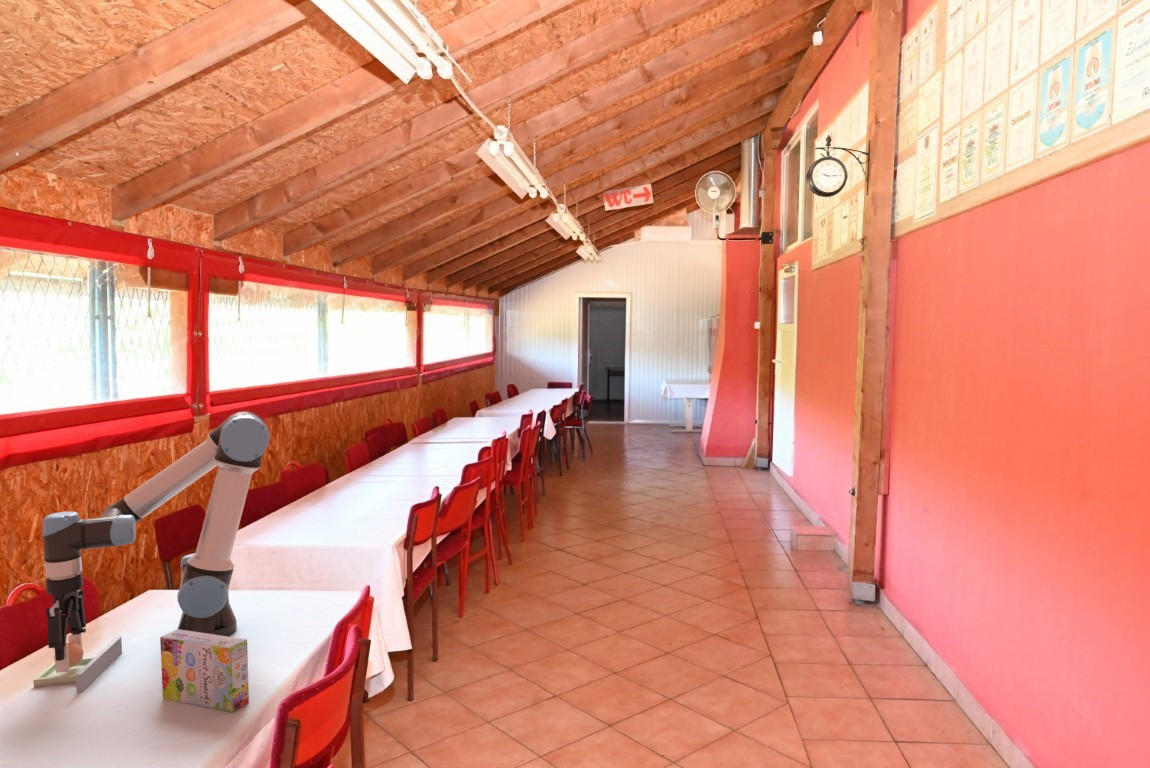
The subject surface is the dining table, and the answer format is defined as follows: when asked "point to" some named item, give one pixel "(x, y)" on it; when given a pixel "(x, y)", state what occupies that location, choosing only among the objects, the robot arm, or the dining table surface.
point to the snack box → (205, 669)
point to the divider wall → (98, 665)
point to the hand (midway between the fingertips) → (69, 665)
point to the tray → (60, 675)
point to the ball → (74, 654)
